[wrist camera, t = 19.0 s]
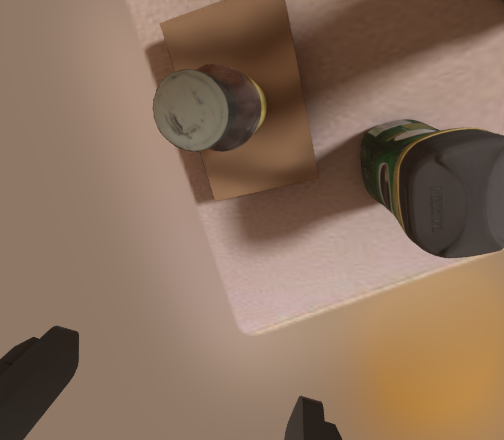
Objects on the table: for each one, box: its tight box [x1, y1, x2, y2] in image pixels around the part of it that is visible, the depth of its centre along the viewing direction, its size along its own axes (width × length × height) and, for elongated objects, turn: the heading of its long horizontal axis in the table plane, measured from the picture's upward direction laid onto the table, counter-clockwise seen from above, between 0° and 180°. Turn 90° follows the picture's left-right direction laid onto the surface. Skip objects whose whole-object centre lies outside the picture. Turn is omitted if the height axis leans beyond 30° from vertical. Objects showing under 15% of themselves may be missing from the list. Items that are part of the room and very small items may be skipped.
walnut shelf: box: [160, 0, 319, 201], centre depth 36 cm, size 20×13×4 cm, turn 15°
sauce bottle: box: [153, 64, 267, 152], centre depth 25 cm, size 7×6×20 cm
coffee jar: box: [361, 119, 504, 258], centre depth 29 cm, size 10×8×19 cm
